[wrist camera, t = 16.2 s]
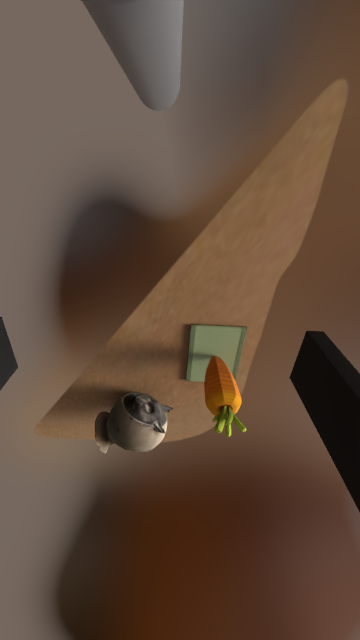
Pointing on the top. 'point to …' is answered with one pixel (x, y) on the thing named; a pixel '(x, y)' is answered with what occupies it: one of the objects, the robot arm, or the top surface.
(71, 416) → the top surface
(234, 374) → the tray
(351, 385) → the robot arm
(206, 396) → the carrot
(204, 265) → the top surface
